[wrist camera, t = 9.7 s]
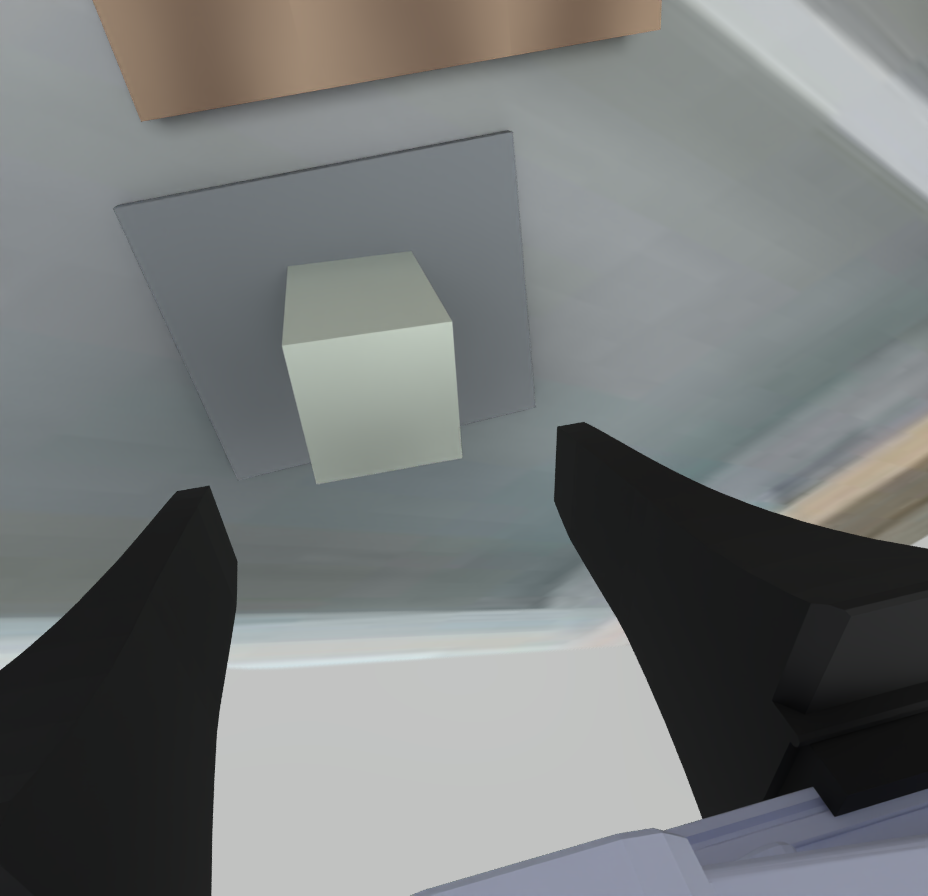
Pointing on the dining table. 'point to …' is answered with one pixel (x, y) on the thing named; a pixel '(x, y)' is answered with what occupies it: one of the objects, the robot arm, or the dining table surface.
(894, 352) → the dining table surface
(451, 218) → the rubber mat
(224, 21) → the pocket block
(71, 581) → the dining table surface
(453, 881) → the robot arm
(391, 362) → the sage part
